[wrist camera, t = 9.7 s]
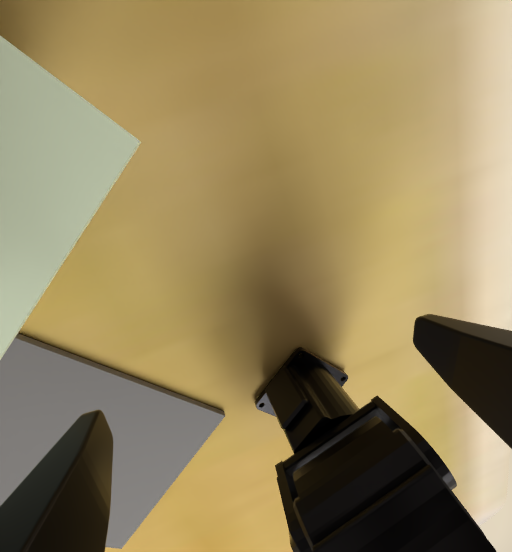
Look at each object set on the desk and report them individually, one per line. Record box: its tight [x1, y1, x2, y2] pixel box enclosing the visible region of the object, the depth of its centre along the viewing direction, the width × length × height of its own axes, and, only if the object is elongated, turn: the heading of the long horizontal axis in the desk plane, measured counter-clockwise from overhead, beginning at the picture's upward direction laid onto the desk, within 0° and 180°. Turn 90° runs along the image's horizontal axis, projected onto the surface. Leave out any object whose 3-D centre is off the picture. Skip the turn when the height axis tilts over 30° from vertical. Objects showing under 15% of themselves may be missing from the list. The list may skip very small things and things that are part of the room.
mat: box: [0, 334, 225, 549], centre depth 22 cm, size 16×16×1 cm
